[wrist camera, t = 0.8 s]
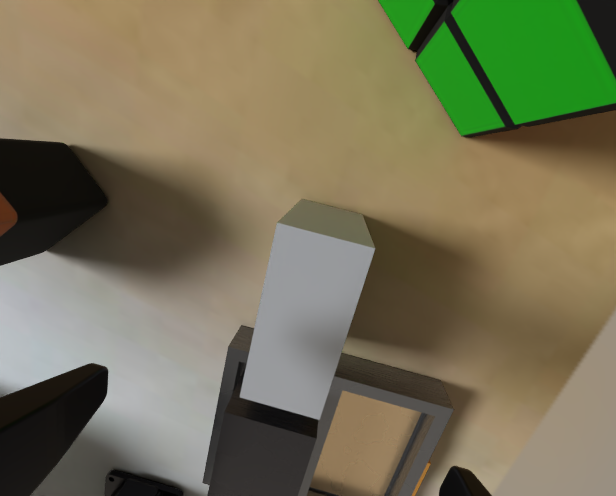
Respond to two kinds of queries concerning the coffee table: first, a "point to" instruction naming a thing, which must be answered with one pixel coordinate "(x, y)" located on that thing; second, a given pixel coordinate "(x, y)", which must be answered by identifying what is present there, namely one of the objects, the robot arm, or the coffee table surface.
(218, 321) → the coffee table surface
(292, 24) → the coffee table surface
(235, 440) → the rack
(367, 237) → the grey block
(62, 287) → the coffee table surface
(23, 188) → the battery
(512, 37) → the puzzle cube
